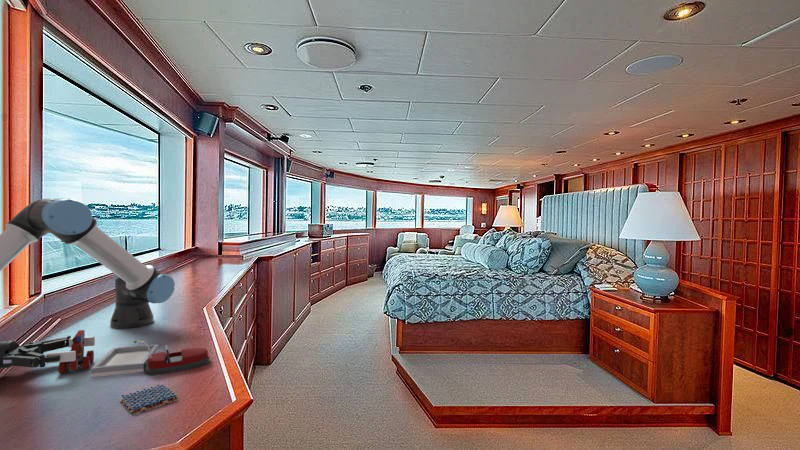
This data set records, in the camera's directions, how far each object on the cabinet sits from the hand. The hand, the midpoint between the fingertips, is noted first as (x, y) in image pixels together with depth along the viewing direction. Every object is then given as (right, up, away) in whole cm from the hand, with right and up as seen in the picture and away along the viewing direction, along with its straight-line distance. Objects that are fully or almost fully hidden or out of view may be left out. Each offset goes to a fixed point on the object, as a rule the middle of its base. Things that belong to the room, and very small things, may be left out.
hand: (85, 348), depth 119 cm
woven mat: (+32, -8, -20) cm, 39 cm away
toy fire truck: (-2, -6, 0) cm, 7 cm away
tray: (+10, -6, +4) cm, 12 cm away
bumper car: (+26, -7, +2) cm, 27 cm away
